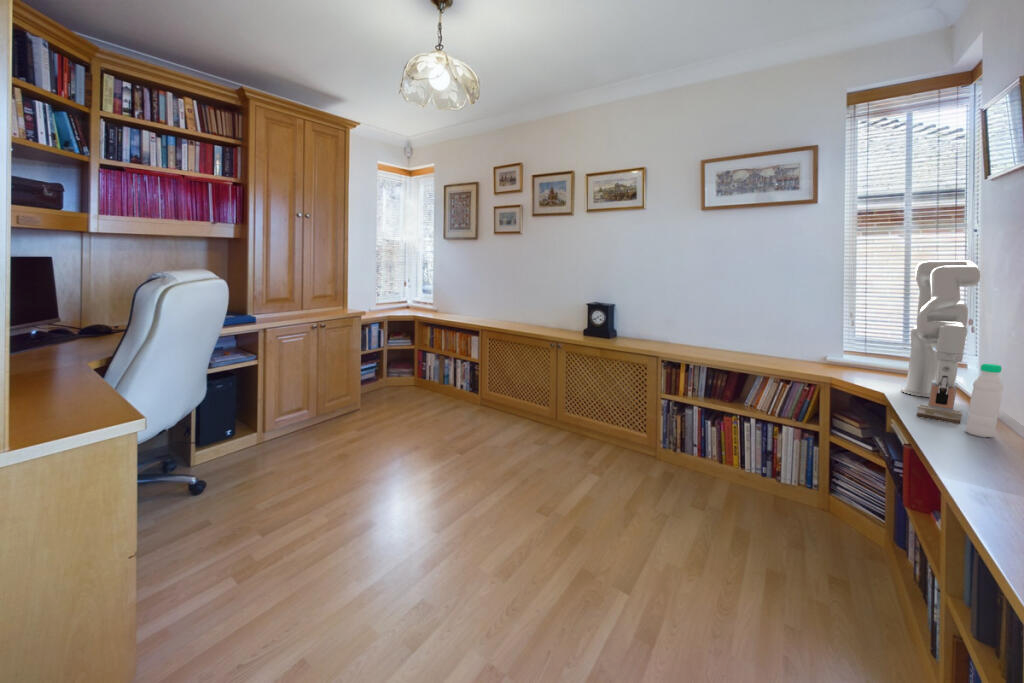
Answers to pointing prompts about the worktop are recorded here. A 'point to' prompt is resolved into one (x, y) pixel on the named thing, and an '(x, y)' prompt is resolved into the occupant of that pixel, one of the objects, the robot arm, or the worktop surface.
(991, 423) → the milk bottle
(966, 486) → the worktop surface
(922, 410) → the shelf board
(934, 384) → the tea carton
